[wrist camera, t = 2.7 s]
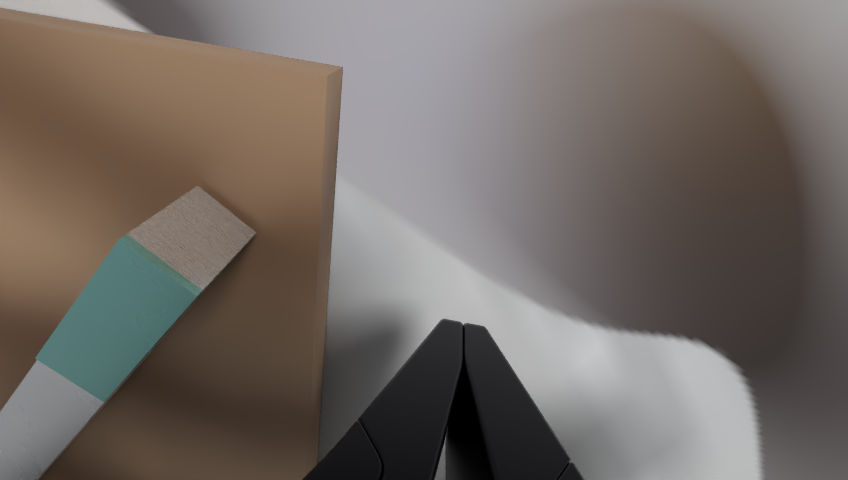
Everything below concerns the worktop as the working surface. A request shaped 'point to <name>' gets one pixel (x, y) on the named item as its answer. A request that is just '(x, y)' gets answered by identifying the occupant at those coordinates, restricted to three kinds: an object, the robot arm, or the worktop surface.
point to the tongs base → (146, 196)
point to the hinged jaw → (116, 327)
